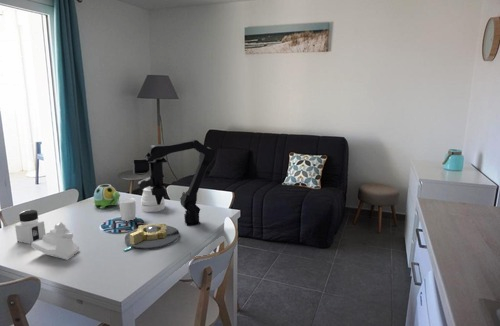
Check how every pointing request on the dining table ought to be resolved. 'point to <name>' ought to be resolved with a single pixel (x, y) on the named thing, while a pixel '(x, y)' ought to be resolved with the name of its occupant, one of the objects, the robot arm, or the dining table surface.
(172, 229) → the grey round shallow disc
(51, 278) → the dining table surface
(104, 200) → the turtle holder
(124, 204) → the white cup
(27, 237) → the container
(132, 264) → the dining table surface
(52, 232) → the white stepped peaked piece
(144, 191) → the honey pot
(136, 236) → the gold block ring
